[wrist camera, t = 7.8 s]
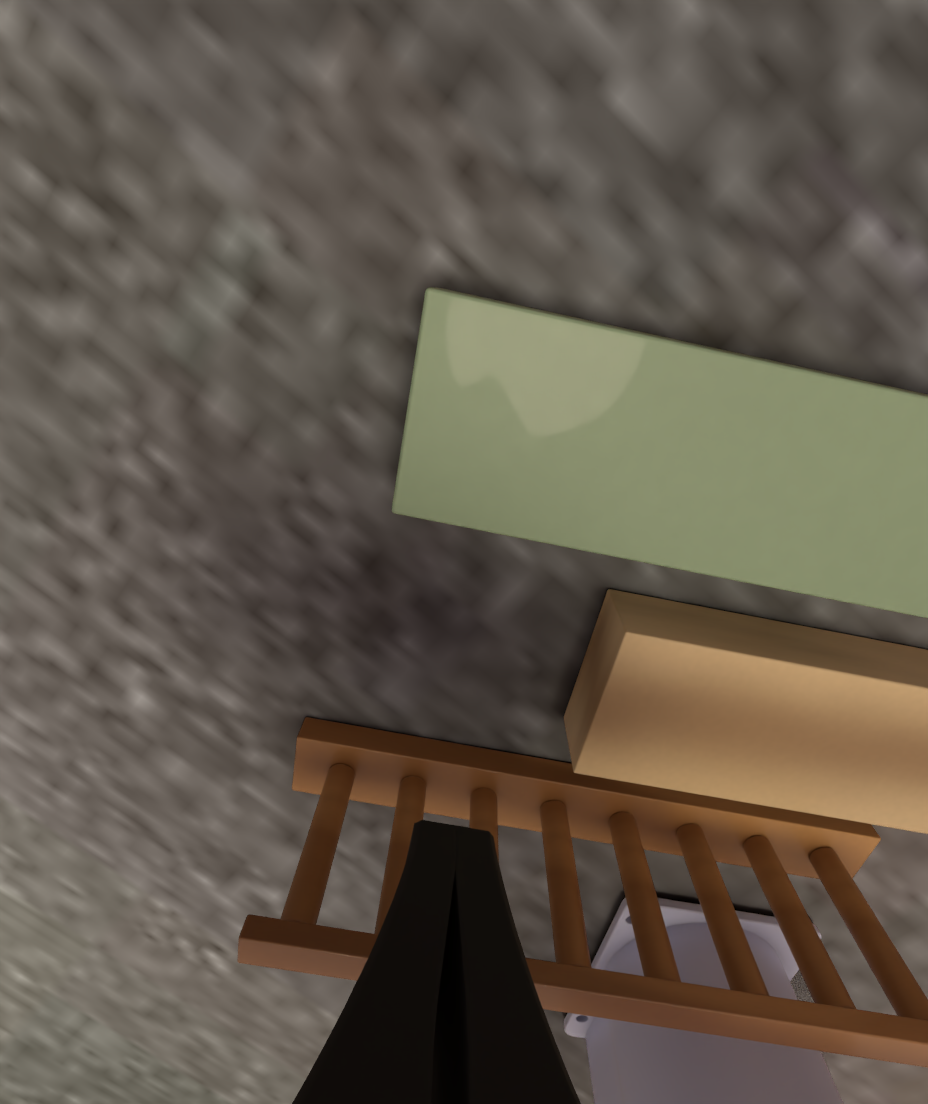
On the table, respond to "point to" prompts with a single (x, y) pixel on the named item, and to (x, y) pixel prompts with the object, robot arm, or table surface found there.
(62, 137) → the table surface
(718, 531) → the sage board
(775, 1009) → the plate rack
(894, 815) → the beech board
